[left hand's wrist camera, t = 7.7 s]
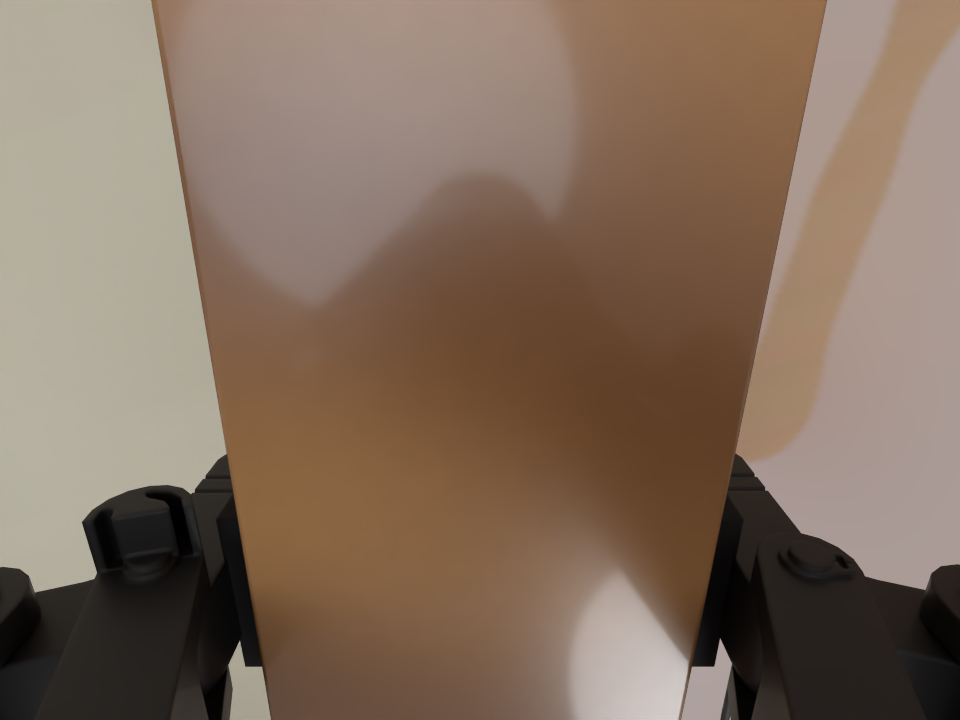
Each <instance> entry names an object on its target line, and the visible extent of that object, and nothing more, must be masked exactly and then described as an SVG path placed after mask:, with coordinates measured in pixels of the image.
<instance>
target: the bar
mask: <svg viewBox="0 0 960 720" xmlns="http://www.w3.org/2000/svg"><path fill="white" fill-rule="evenodd" d="M151 1H152V7H153V13H154V19H155V25H156V31H157V37H158V43H159V49H160V55H161V61H162V67H163V73H164V79H165V85H166V91H167V97H168V103H169V109H170V115H171V121H172V127H173V133H174V139H175V145H176V151H177V157H178V163H179V169H180V175H181V181H182V187H183V193H184V199H185V205H186V211H187V217H188V223H189V229H190V235H191V241H192V247H193V253H194V259H195V265H196V271H197V277H198V283H199V289H200V295H201V301H202V307H203V313H204V319H205V325H206V331H207V337H208V343H209V349H210V355H211V361H212V367H213V373H214V379H215V385H216V391H217V397H218V403H219V409H220V415H221V421H222V427H223V433H224V439H225V445H226V451H227V457H228V463H229V469H230V475H231V481H232V487H233V493H234V499H235V505H236V511H237V517H238V523H239V529H240V535H241V541H242V547H243V553H244V559H245V565H246V571H247V577H248V583H249V589H250V595H251V601H252V607H253V613H254V619H255V625H256V631H257V637H258V643H259V649H260V655H261V661H262V667H263V673H264V679H265V685H266V691H267V697H268V703H269V709H270V715H271V720H681V717H682V712H683V707H684V702H685V698H686V693H687V688H688V683H689V678H690V673H691V668H692V663H693V658H694V653H695V648H696V643H697V638H698V634H699V629H700V624H701V619H702V614H703V609H704V604H705V599H706V594H707V589H708V584H709V579H710V574H711V569H712V565H713V560H714V555H715V550H716V545H717V540H718V535H719V530H720V525H721V520H722V515H723V510H724V505H725V501H726V496H727V491H728V486H729V481H730V476H731V471H732V466H733V461H734V456H735V451H736V446H737V441H738V436H739V432H740V427H741V422H742V417H743V412H744V407H745V402H746V397H747V392H748V387H749V382H750V377H751V372H752V368H753V363H754V358H755V353H756V348H757V343H758V338H759V333H760V328H761V323H762V318H763V313H764V308H765V303H766V299H767V294H768V289H769V284H770V279H771V274H772V269H773V264H774V259H775V254H776V249H777V244H778V239H779V234H780V229H781V225H782V220H783V215H784V210H785V205H786V200H787V195H788V190H789V185H790V180H791V175H792V170H793V166H794V160H795V156H796V151H797V146H798V141H799V136H800V131H801V126H802V121H803V116H804V111H805V106H806V101H807V96H808V91H809V87H810V82H811V77H812V72H813V67H814V62H815V57H816V52H817V47H818V42H819V37H820V32H821V28H822V23H823V18H824V13H825V8H826V3H827V0H151Z"/></svg>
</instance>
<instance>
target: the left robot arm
mask: <svg viewBox="0 0 960 720" xmlns="http://www.w3.org/2000/svg"><path fill="white" fill-rule="evenodd" d="M82 524H83V527H84V531H85V534H86V537H87V541H88V544H89V547H90V550H91V554H92V557H93V560H94V564H95V567H96V570H97V575H96V577H95V579H93V580H90V581H86V582H82V583H78V584H73V585H68V586H64V587H59V588H54V589H50V590H45V591H40V592H36V593H35V592H34V589H33V586H32V583H31V581H30V578H29V576H28V575H27V574H26V573H24V572H23V571H21V570H20V569H15V568H6V567H0V720H229V719H230V709H231V700H232V690H233V689H232V682H231V676H230V671H229V667H228V664H229V662H230V660H231V658H232V656H233V654H234V651H235V649H236V647H237V645H238V643H239V641H240V642H241V647H242V652H243V657H244V662H245V667H262V661H261V655H260V649H259V643H258V637H257V631H256V625H255V619H254V613H253V607H252V601H251V595H250V589H249V583H248V577H247V571H246V565H245V559H244V553H243V547H242V541H241V535H240V529H239V523H238V517H237V511H236V505H235V499H234V493H233V487H232V481H231V475H230V469H229V463H228V457H227V454H226V455H224V456H223V457H221V458H220V459H218V461H217V462H216V463H215V464H214V466H213V467H212V468H211V470H210V471H209V472H208V473H207V475H206V478H205V479H203V480H202V481H201V482H200V484H199V485H198V486H197V488H196V489H195V493H192V494H190V493H188V492H187V491H186V490H184V489H183V488H179V487H175V486H170V485H161V486H148V487H143V488H139V489H135V490H131V491H127V492H125V493H123V494H120V495H118V496H115V497H113V498H111V499H108V500H107V501H105V502H104V503H102V504H101V505H99V506H98V507H96V508H95V509H93V510H92V511H91V512H90V513H89V515H88V516H87V517H86V518H85V519H84V520H83V522H82ZM720 638H721V641H722V643H723V645H724V647H725V649H726V651H727V653H728V656H729V658H730V660H731V662H732V667H731V671H730V676H729V681H728V685H727V690H726V695H725V699H724V704H723V708H722V714H721V720H729V719H730V717H731V720H960V565H958V564H957V565H949V566H941V567H939V568H938V569H937V570H935V571H934V572H933V573H932V574H931V576H930V579H929V582H928V585H927V588H926V590H922V589H918V588H913V587H908V586H903V585H899V584H894V583H889V582H885V581H880V580H876V579H872V578H869V577H865V576H864V574H863V572H862V570H861V569H860V567H859V566H858V565H857V563H856V562H855V561H854V559H853V558H851V557H850V556H849V555H847V554H846V553H845V552H843V551H842V550H841V549H840V548H838V547H836V546H834V545H832V544H830V543H828V542H826V541H824V540H822V539H820V538H816V537H813V536H809V535H805V534H801V533H800V531H799V530H798V529H797V527H796V526H795V525H794V524H793V522H792V521H791V520H790V519H789V517H788V516H787V515H786V513H785V512H784V511H783V510H782V508H781V507H780V506H779V505H778V503H777V502H776V501H775V499H774V498H773V497H772V496H771V494H770V493H769V492H768V491H765V487H764V485H763V484H762V483H761V482H760V480H759V479H758V478H757V477H755V476H754V473H753V471H752V470H751V469H750V468H749V466H748V465H747V464H746V462H745V461H744V460H743V459H742V457H740V456H739V455H737V454H735V456H734V461H733V466H732V471H731V476H730V481H729V486H728V491H727V496H726V501H725V505H724V510H723V515H722V520H721V525H720V530H719V535H718V540H717V545H716V550H715V555H714V560H713V565H712V569H711V574H710V579H709V584H708V589H707V594H706V599H705V604H704V609H703V614H702V619H701V624H700V629H699V634H698V638H697V643H696V648H695V653H694V658H693V663H692V667H695V666H696V667H698V666H699V667H700V666H701V667H702V666H703V667H704V666H705V667H706V666H707V667H711V666H712V667H713V666H714V665H715V660H716V655H717V650H718V645H719V640H720Z"/></svg>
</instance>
